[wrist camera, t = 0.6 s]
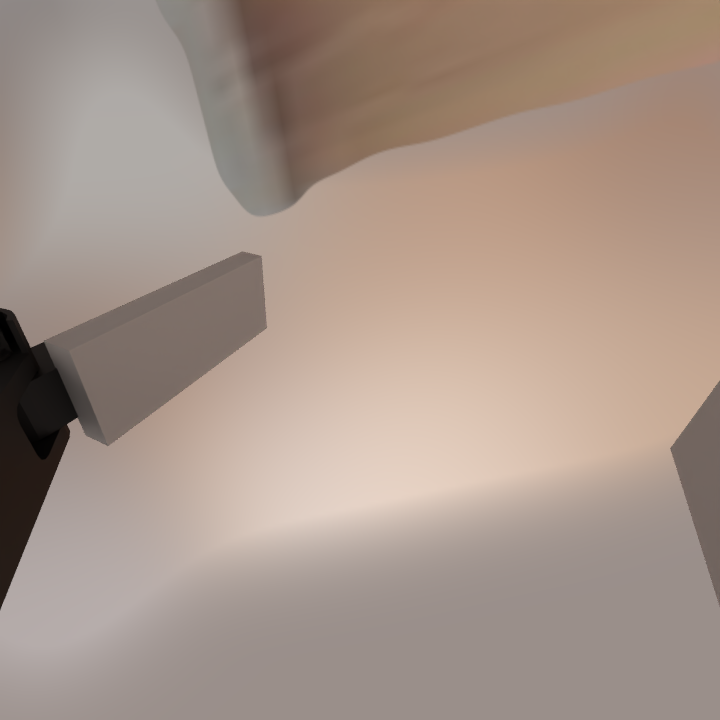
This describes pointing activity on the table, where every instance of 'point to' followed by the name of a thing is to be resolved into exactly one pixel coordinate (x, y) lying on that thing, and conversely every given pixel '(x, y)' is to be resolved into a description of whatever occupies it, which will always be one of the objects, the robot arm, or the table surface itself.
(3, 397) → the robot arm
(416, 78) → the table surface
